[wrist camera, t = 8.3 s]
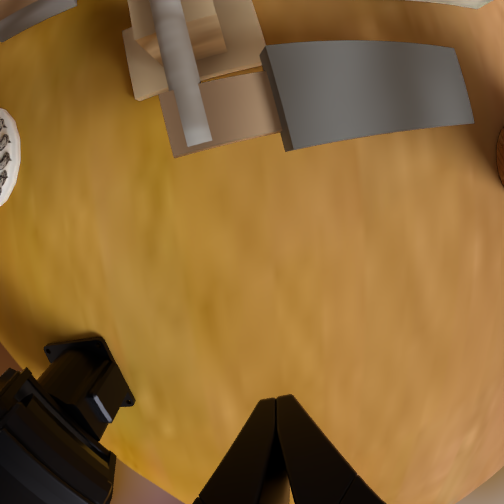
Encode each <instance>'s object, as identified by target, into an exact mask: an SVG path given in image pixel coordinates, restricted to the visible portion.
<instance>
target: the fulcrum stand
mask: <svg viewBox="0 0 504 504" xmlns="http://www.w3.org/2000/svg"><path fill="white" fill-rule="evenodd" d="M180 1H181V5H182V9H183V13H184V17H185V21H186V25H187V29H188V33H189V37H190V41H191V45H192V49H193V53H194V57H195V61H196V65H197V69H198V73H199V77H200V81H202V80H206V79H209V78H213V77H216V76H220V75H224V74H228V73H232V72H236V71H240V70H244V69H249V68H253V67H258V66H262V63H261V60H260V56H259V55H260V53H261V52H262V50H263V49H264V47H265V46H266V43H265V40H264V37H263V33H262V30H261V27H260V24H259V21H258V18H257V15H256V12H255V9H254V6H253V3H252V0H180ZM128 6H129V12H130V17H131V23H132V27H130V28H128V29H126V30H123V31H122V34H123V40H124V46H125V51H126V57H127V62H128V67H129V72H130V77H131V82H132V87H133V91H134V96H135V99H136V100H138V101H142V100H144V99H147V98H150V97H153V96H156V95H158V94H160V93H164V92H167V91H169V88H168V84H167V80H166V76H165V71H164V67H163V62H162V58H161V54H160V49H159V44H158V40H157V35H156V31H155V26H154V21H153V16H152V11H151V7H150V2H149V0H128Z"/></svg>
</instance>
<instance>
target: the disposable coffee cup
mask: <svg viewBox="0 0 504 504" xmlns="http://www.w3.org/2000/svg"><path fill="white" fill-rule="evenodd" d="M497 167H498V172H499V176H500V178H501V181H502V184H503V186H504V127H503V129H502V130H501V132H500V135H499V138H498V142H497Z"/></svg>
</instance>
